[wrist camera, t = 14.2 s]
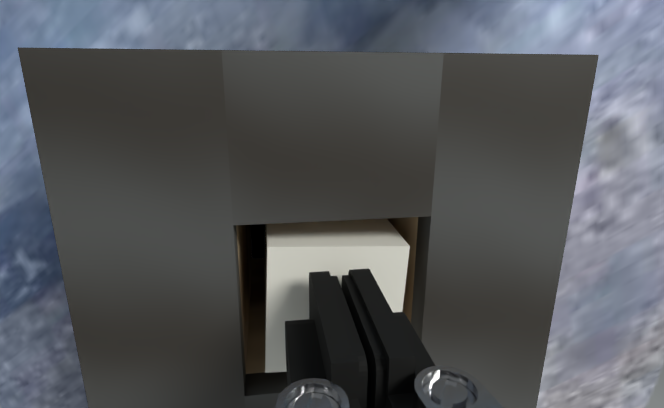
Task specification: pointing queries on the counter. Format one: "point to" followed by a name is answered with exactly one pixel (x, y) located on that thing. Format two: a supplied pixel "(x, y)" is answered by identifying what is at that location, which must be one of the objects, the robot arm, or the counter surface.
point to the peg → (325, 269)
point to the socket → (301, 202)
